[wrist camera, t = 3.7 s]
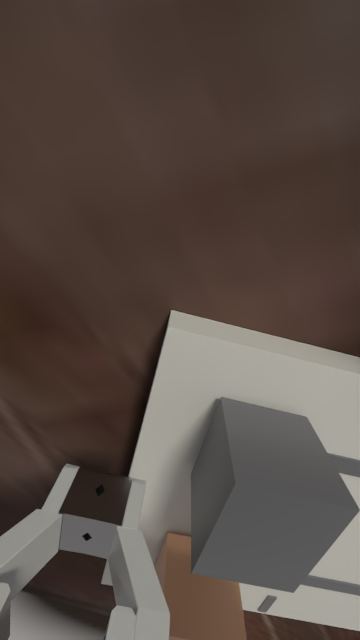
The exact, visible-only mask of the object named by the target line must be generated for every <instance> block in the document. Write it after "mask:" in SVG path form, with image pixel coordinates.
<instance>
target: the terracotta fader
mask: <svg viewBox="0 0 360 640" xmlns="http://www.w3.org/2000/svg"><path fill="white" fill-rule="evenodd" d="M154 568H155V571H156V573H157V576H158V579H159V582H160V585H161V588H162V591H163V594H164V597H165V600H166V603H167V606H168V609H169V612H170V627H169V640H247V639H246V631H245V624H244V616H243V608H242V601H241V593H240V586H239V583H238V582H233V581H228V580H222V579H217V578H212V577H207V576H201V575H196V574H191V537H189V536H184V535H179V534H174V533H169V532H168V534H167V536H166V539H165V542H164V544H163V547H162V549H161V552H160V554H159V557H158V560H157V562H156V565H155V567H154Z"/></svg>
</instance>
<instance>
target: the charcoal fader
mask: <svg viewBox="0 0 360 640" xmlns="http://www.w3.org/2000/svg"><path fill="white" fill-rule="evenodd" d="M359 511H360V509H359V507H358V506H357V504H356V502H355V500H354V499H353V497H352V495H351V493H350V492H349V490H348V488H347V486H346V485H345V483H344V481H343V479H342V478H341V476H340V474H339V472H338V471H337V469H336V467H335V465H334V463H333V462H332V460H331V458H330V456H329V455H328V453H327V451H326V449H325V448H324V446H323V444H322V442H321V441H320V439H319V437H318V435H317V434H316V432H315V430H314V428H313V427H312V425H311V423H310V421H309V420H308V418H307V417H306V416H302V415H297V414H293V413H289V412H284V411H280V410H276V409H272V408H267V407H263V406H259V405H255V404H250V403H246V402H242V401H237V400H233V399H229V398H225V397H221V398H220V400H219V403H218V406H217V408H216V411H215V413H214V416H213V418H212V421H211V423H210V426H209V429H208V431H207V434H206V436H205V439H204V441H203V444H202V447H201V449H200V452H199V454H198V457H197V459H196V462H195V465H194V467H193V470H192V472H191V574H196V575H201V576H207V577H212V578H217V579H222V580H228V581H233V582H238V583H244V584H249V585H254V586H259V587H265V588H270V589H275V590H280V591H286V592H291V593H294V592H295V591H296V589H297V588H298V587H299V586H300V584H301V583H302V582H303V581H304V579H305V578H306V577H307V576H308V574H309V573H310V572H311V571H312V569H313V568H314V567H315V566H316V564H317V563H318V562H319V561H320V559H321V558H322V557H323V556H324V555H325V553H326V552H327V551H328V550H329V548H330V547H331V546H332V545H333V543H334V542H335V541H336V540H337V538H338V537H339V536H340V535H341V533H342V532H343V531H344V530H345V528H346V527H347V526H348V525H349V523H350V522H351V521H352V520H353V518H354V517H355V516H356V515H357V514H358V512H359Z"/></svg>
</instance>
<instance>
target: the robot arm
mask: <svg viewBox="0 0 360 640" xmlns="http://www.w3.org/2000/svg"><path fill="white" fill-rule="evenodd" d="M145 488H146V481H145V480H140V479H135V478H133V479H132V477H127V476H122V475H117V474H112V473H105V472H101V471H97V470H92V469H88V468H84V467H80V466H76V465H71V464H66V465H65V466H64V467H63V469H62V471H61V473H60V475H59V477H58V478H57V480H56V482H55V484H54V486H53V488H52V490H51V492H50V494H49V496H48V498H47V499H46V501H45V503H44V505H43V507H42V509H36V510H35V511H33V512H32V513H31V514H29V515H28V516H27V517H25V518H24V519H23V520H21V521H20V522H19V523H17V524H16V525H15V526H14V527H12V528H11V529H10V530H8V531H7V532H6V533H4V534H3V535H2V536H0V640H8V638H9V636H10V601H11V600H12V599H13V598H14V597H15V596H16V595H17V594H18V593H19V592H20V591H21V590H22V589H23V588H24V587H25V586H26V584H27V583H28V582H29V581H30V580H31V579H32V578H33V577H34V576H35V575H36V574H37V573H38V572H39V571H40V570H41V569H42V568H43V567H44V566H45V564H46V563H47V562H48V561H49V560H50V559H51V558H52V557H53V556H54V555H55V554H56V553H57V552H58V549H60V550H66V551H72V552H78V553H84V554H88V555H92V556H96V557H101V558H105V559H109V560H108V562H109V568H110V573H111V579H112V584H113V590H114V595H115V601H116V607H115V608H114V609H113V610H112V612H111V615H110V619H109V622H108V626H107V629H106V632H105V636H104V640H169V627H170V612H169V609H168V606H167V603H166V600H165V597H164V594H163V591H162V588H161V585H160V582H159V579H158V576H157V573H156V571H155V568H154V565H153V562H152V559H151V556H150V553H149V550H148V547H147V544H146V541H145V538H144V535H143V532H142V531H141V530H138V527H139V522H140V516H141V510H142V505H143V499H144V493H145Z"/></svg>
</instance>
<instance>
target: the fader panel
mask: <svg viewBox="0 0 360 640" xmlns="http://www.w3.org/2000/svg"><path fill="white" fill-rule="evenodd" d="M221 397H225V398H229V399H233V400H237V401H242V402H246V403H250V404H255V405H259V406H263V407H267V408H272V409H276V410H280V411H284V412H289V413H293V414H297V415H302V416H306V417H307V418H308V420H309V421H310V423H311V425H312V427H313V428H314V430H315V432H316V434H317V435H318V437H319V439H320V441H321V442H322V444H323V446H324V448H325V449H326V451H327V453H328V455H329V456H330V458H331V460H332V462H333V463H334V465H335V467H336V469H337V471H338V472H339V474H340V476H341V478H342V479H343V481H344V483H345V485H346V486H347V488H348V490H349V492H350V493H351V495H352V497H353V499H354V500H355V502H356V504H357V506H358V507H359V509H360V357H356V356H352V355H348V354H344V353H340V352H336V351H332V350H328V349H324V348H320V347H316V346H312V345H308V344H305V343H301V342H297V341H293V340H289V339H285V338H281V337H277V336H273V335H269V334H265V333H261V332H257V331H253V330H249V329H245V328H241V327H237V326H233V325H229V324H225V323H221V322H217V321H213V320H209V319H205V318H201V317H197V316H194V315H190V314H186V313H182V312H178V311H174V310H171V313H170V317H169V321H168V325H167V328H166V332H165V336H164V340H163V344H162V348H161V352H160V355H159V359H158V363H157V367H156V371H155V375H154V379H153V382H152V386H151V390H150V394H149V398H148V402H147V406H146V409H145V413H144V417H143V421H142V425H141V429H140V433H139V436H138V440H137V444H136V448H135V452H134V456H133V460H132V463H131V467H130V471H129V475H128V477H132V479H133V478H135V479H140V480H145V481H146V488H145V493H144V499H143V505H142V510H141V516H140V522H139V527H138V530H141V531H142V532H143V535H144V538H145V541H146V544H147V547H148V550H149V553H150V556H151V559H152V562H153V565H154V567H155V565H156V562H157V560H158V557H159V554H160V552H161V549H162V547H163V544H164V542H165V539H166V536H167V534H168V532H169V533H174V534H179V535H184V536H189V537H191V472H192V470H193V467H194V465H195V462H196V459H197V457H198V454H199V452H200V449H201V447H202V444H203V441H204V439H205V436H206V434H207V431H208V429H209V426H210V423H211V421H212V418H213V416H214V413H215V411H216V408H217V406H218V403H219V400H220V398H221ZM108 560H109V559H107V561H106V565H105V569H104V573H103V577H102V581H101V584H106V585H111V586H113V584H112V579H111V573H110V568H109V562H108ZM239 586H240V593H241V601H242V608H243V610H248V611H253V612H259V613H264V614H270V615H275V616H280V617H286V618H291V619H297V620H302V621H308V622H313V623H319V624H324V625H330V626H335V627H341V628H346V629H351V630H357V631H360V511H359V512H358V514H357V515H356V516H355V517H354V518H353V520H352V521H351V522H350V523H349V525H348V526H347V527H346V528H345V530H344V531H343V532H342V533H341V535H340V536H339V537H338V538H337V540H336V541H335V542H334V543H333V545H332V546H331V547H330V548H329V550H328V551H327V552H326V553H325V555H324V556H323V557H322V558H321V559H320V561H319V562H318V563H317V564H316V566H315V567H314V568H313V569H312V571H311V572H310V573H309V574H308V576H307V577H306V578H305V579H304V581H303V582H302V583H301V584H300V586H299V587H298V588H297V589H296V591H295V592H294V593H291V592H286V591H280V590H275V589H270V588H265V587H259V586H254V585H249V584H244V583H239Z"/></svg>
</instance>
